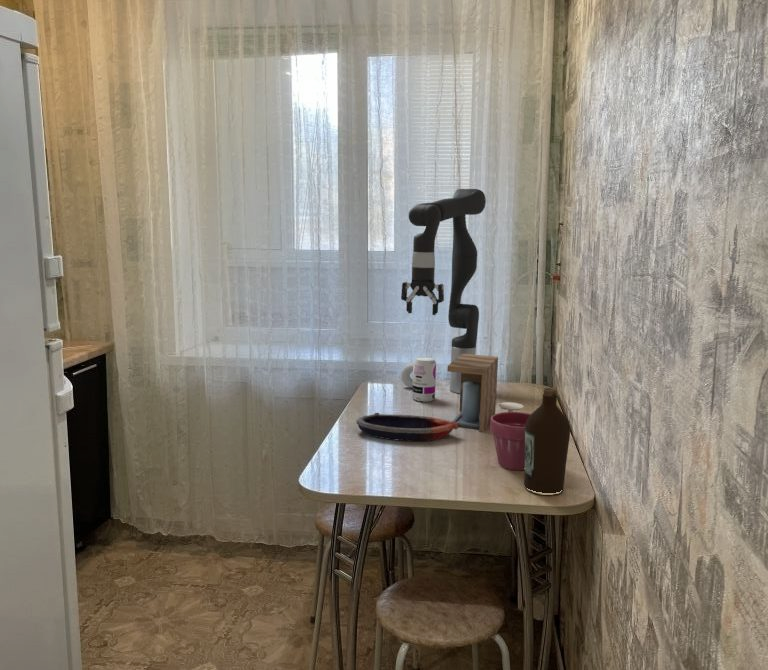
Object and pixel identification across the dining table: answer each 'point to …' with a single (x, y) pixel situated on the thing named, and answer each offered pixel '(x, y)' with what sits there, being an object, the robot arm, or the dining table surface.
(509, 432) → the plant pot
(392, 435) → the dish
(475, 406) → the tall pale blue cylinder
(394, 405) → the dining table surface
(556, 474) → the olive oil
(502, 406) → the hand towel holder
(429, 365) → the supplement can
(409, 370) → the donut
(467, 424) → the tray
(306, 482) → the dining table surface
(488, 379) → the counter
